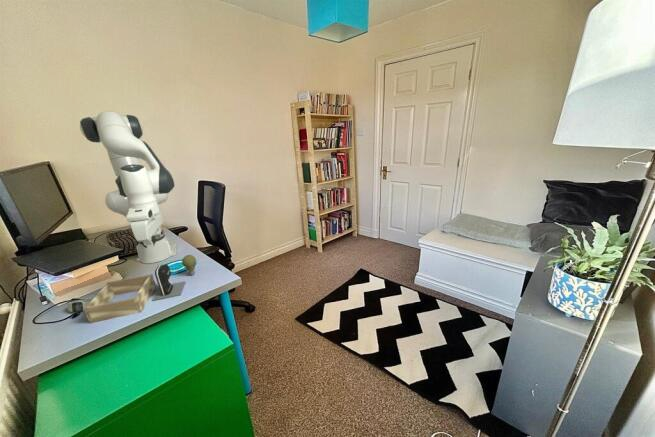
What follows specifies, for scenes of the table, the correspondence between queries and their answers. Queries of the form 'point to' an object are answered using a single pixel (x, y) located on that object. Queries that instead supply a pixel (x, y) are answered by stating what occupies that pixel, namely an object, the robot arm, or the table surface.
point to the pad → (175, 291)
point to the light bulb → (189, 263)
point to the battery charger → (163, 279)
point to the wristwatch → (78, 305)
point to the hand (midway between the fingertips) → (155, 242)
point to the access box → (105, 310)
